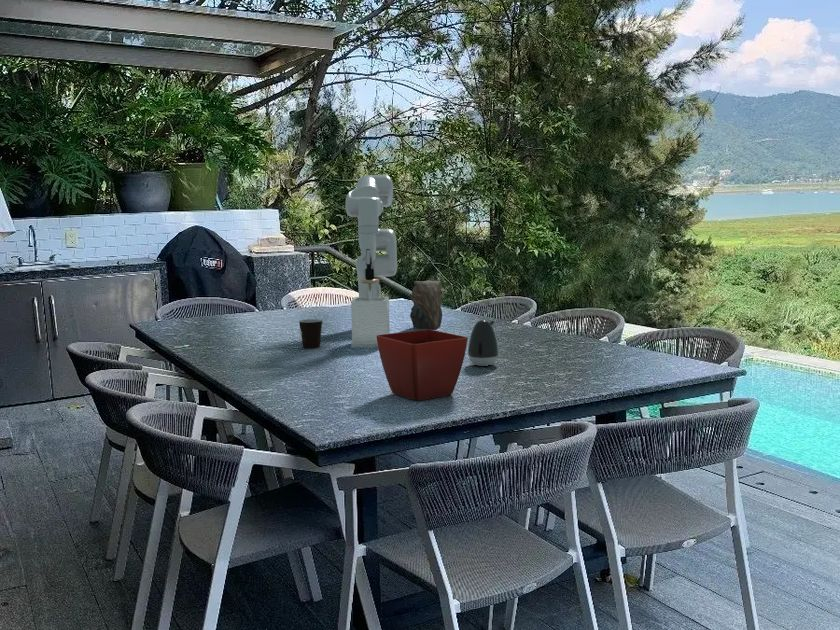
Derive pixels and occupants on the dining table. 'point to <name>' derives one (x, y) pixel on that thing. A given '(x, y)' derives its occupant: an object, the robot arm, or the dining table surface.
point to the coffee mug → (311, 333)
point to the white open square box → (369, 321)
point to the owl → (426, 304)
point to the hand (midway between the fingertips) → (369, 279)
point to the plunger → (370, 286)
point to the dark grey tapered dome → (483, 344)
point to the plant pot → (422, 362)
